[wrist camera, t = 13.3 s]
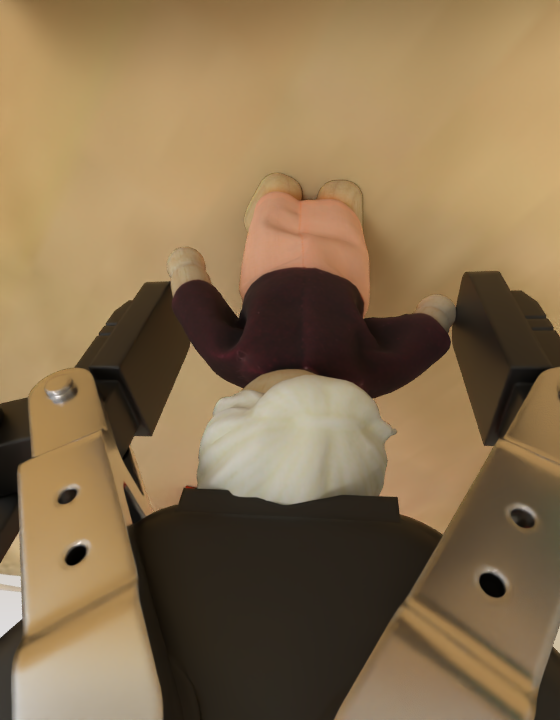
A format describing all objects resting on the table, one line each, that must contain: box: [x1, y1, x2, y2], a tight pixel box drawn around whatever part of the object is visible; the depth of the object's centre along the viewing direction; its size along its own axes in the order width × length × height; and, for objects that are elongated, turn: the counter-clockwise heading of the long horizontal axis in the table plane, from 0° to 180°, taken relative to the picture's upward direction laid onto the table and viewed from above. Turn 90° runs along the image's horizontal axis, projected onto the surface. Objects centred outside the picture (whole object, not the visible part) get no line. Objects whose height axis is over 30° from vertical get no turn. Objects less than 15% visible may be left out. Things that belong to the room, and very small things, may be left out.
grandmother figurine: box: [167, 173, 456, 505], centre depth 11 cm, size 8×4×13 cm, turn 94°
